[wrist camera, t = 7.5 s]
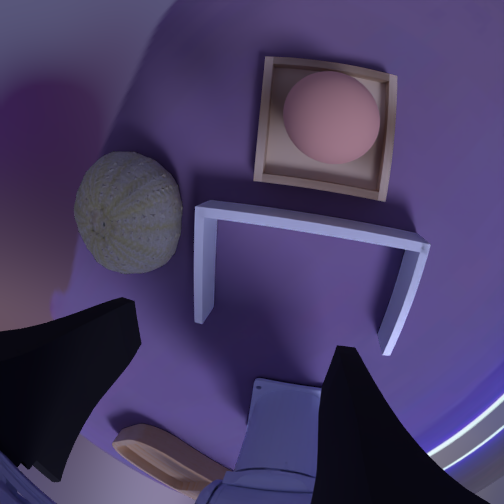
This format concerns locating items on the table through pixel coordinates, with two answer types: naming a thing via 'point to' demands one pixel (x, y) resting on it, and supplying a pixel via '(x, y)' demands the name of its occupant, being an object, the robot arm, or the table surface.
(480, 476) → the table surface
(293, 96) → the ball
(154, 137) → the table surface
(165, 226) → the sea urchin shell
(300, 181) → the tray
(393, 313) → the white u-shaped arch
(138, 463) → the lamp
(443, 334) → the table surface
